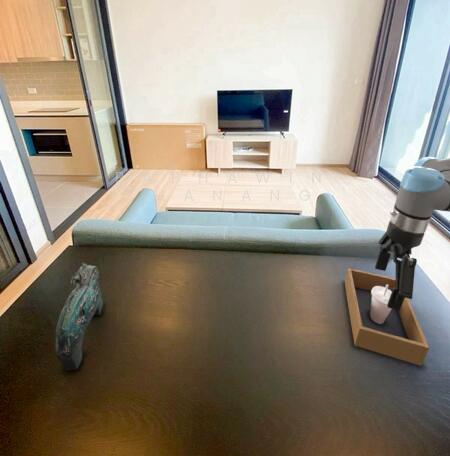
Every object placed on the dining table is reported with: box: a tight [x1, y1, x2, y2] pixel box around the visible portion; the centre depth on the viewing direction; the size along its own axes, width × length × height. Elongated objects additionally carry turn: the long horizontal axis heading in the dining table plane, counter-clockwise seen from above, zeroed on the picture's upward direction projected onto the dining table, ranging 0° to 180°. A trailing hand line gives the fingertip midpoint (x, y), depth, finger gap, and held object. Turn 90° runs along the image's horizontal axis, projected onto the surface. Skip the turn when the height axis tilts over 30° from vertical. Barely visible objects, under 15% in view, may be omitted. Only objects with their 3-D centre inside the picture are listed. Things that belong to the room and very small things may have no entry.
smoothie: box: [369, 284, 393, 325], centre depth 72 cm, size 6×6×14 cm
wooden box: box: [344, 267, 430, 367], centre depth 73 cm, size 16×22×7 cm
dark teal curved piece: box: [54, 262, 104, 371], centre depth 67 cm, size 20×6×20 cm, turn 5°
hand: (386, 286), depth 70 cm, fingers open, 13 cm apart
